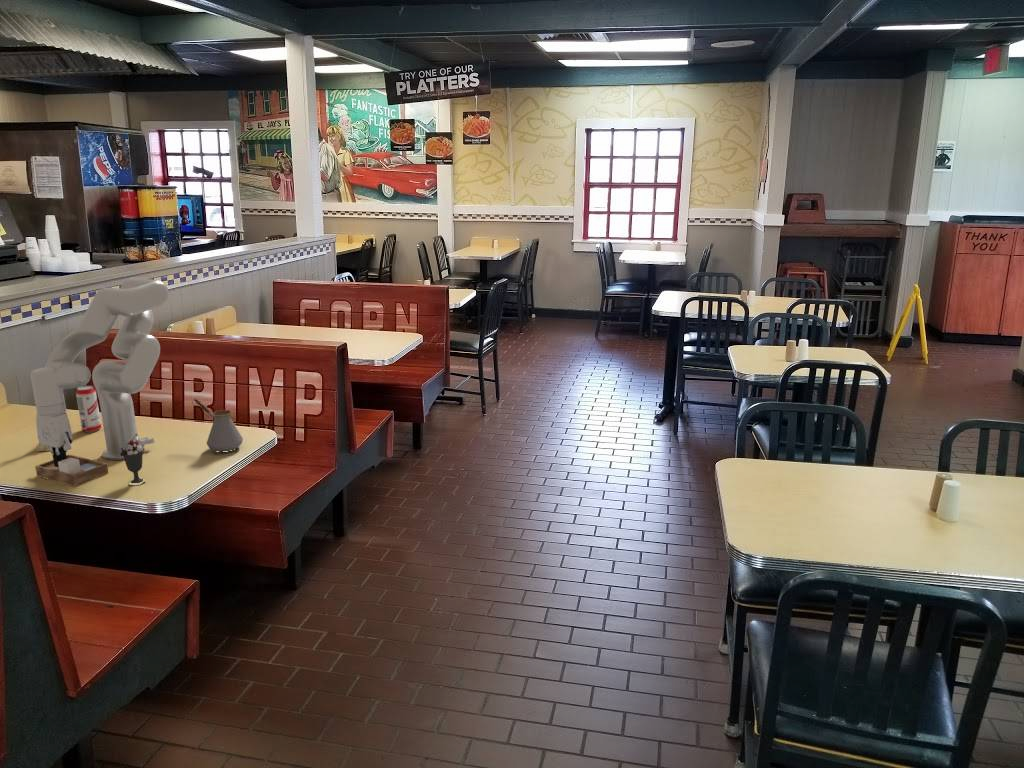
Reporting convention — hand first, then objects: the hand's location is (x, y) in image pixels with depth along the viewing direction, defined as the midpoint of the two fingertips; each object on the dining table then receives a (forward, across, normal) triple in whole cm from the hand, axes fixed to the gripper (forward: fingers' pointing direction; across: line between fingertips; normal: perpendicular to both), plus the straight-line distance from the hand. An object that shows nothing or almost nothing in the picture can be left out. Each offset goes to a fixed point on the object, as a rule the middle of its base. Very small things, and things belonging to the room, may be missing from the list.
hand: (61, 465), depth 235 cm
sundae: (+4, +24, +7) cm, 25 cm away
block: (+2, +4, 0) cm, 5 cm away
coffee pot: (+4, +23, +40) cm, 46 cm away
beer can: (+4, -30, +33) cm, 44 cm away
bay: (+4, +5, +5) cm, 8 cm away
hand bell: (+4, -27, +15) cm, 31 cm away
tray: (+4, +1, +2) cm, 5 cm away
